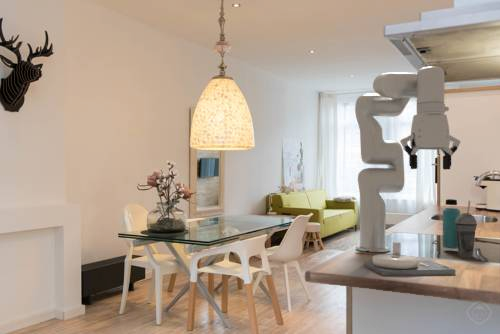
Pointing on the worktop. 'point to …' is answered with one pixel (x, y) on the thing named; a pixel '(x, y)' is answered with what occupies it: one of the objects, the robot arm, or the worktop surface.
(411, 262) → the dial
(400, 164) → the robot arm
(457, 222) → the beverage cup
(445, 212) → the beverage bottle
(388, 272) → the stand
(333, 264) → the worktop surface
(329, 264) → the worktop surface
